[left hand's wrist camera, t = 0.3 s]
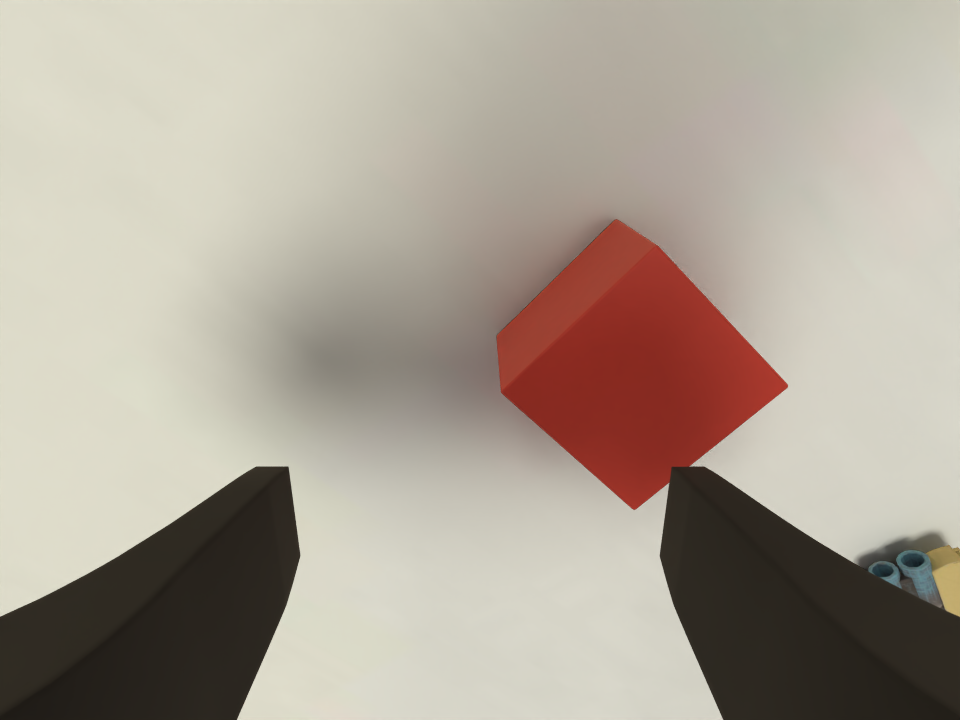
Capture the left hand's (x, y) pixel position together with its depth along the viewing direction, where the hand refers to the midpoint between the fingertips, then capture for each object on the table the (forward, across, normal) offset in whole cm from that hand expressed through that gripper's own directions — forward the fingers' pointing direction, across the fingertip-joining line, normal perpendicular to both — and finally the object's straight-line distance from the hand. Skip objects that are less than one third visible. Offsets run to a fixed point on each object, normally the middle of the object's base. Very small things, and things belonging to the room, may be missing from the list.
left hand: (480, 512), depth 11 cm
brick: (+8, +4, +1) cm, 9 cm away
